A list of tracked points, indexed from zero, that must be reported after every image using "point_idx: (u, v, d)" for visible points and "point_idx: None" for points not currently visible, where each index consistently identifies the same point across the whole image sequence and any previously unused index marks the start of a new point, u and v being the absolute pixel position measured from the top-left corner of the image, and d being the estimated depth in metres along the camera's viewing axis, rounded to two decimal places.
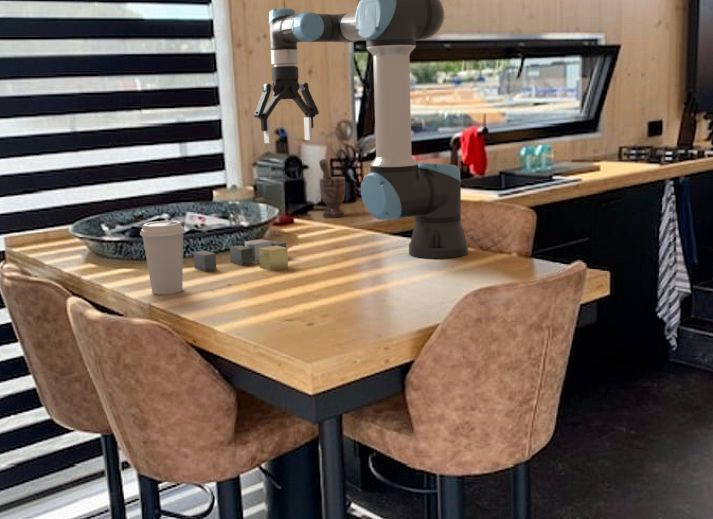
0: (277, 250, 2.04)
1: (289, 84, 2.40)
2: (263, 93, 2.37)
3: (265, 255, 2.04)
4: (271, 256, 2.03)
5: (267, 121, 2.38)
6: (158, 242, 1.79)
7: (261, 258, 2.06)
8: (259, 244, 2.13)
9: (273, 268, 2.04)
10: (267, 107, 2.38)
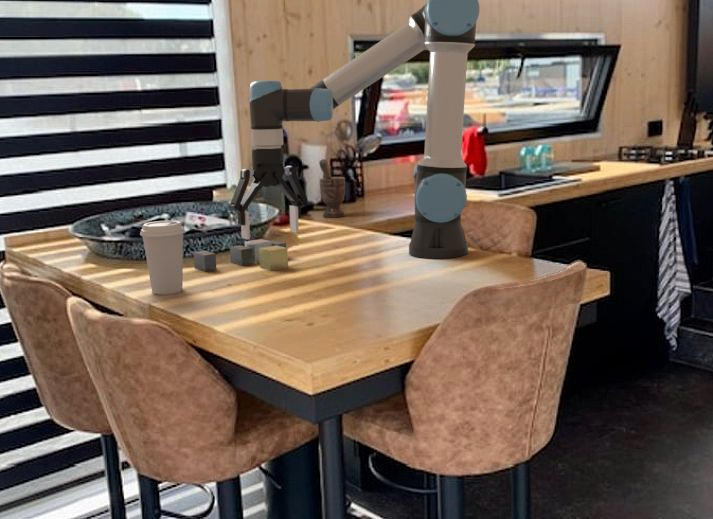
0: (277, 250, 2.04)
1: (272, 169, 2.02)
2: (241, 180, 1.99)
3: (265, 255, 2.04)
4: (271, 256, 2.03)
5: (245, 213, 1.99)
6: (159, 242, 1.79)
7: (261, 258, 2.06)
8: (259, 244, 2.13)
9: (273, 268, 2.04)
10: (245, 196, 2.00)
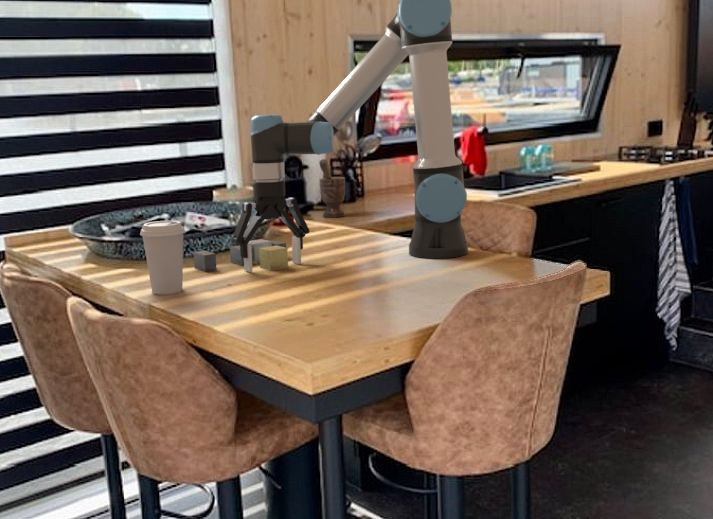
0: (277, 250, 2.04)
1: (274, 202, 2.03)
2: (243, 214, 2.00)
3: (265, 255, 2.04)
4: (271, 256, 2.03)
5: (247, 246, 2.01)
6: (159, 242, 1.79)
7: (261, 258, 2.06)
8: (259, 244, 2.13)
9: (273, 268, 2.04)
10: (248, 229, 2.01)
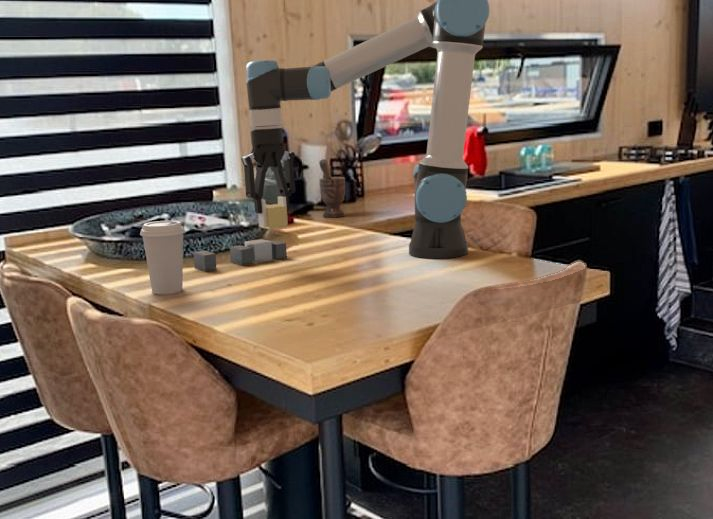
0: (276, 208, 2.02)
1: (273, 145, 2.01)
2: (246, 168, 1.99)
3: None
4: (270, 214, 2.01)
5: (262, 202, 2.01)
6: (159, 242, 1.79)
7: None
8: (259, 244, 2.13)
9: (272, 226, 2.02)
10: (256, 184, 2.01)
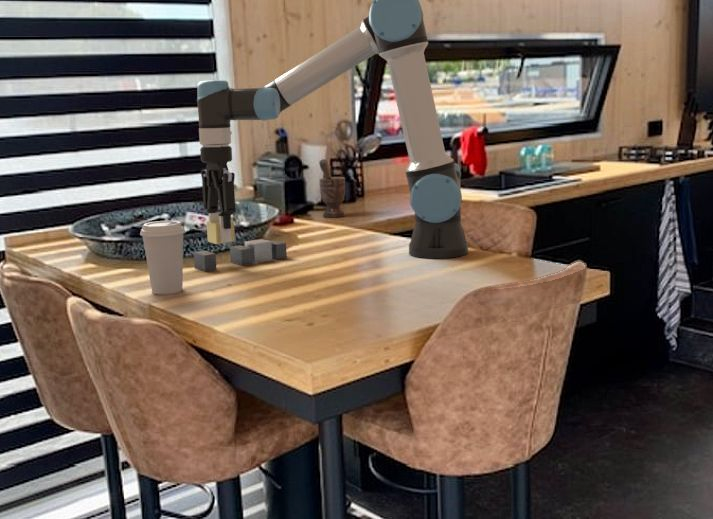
0: (210, 223, 2.08)
1: (214, 163, 2.04)
2: None
3: None
4: (207, 228, 2.09)
5: None
6: (159, 242, 1.79)
7: None
8: (259, 244, 2.13)
9: (209, 239, 2.10)
10: None
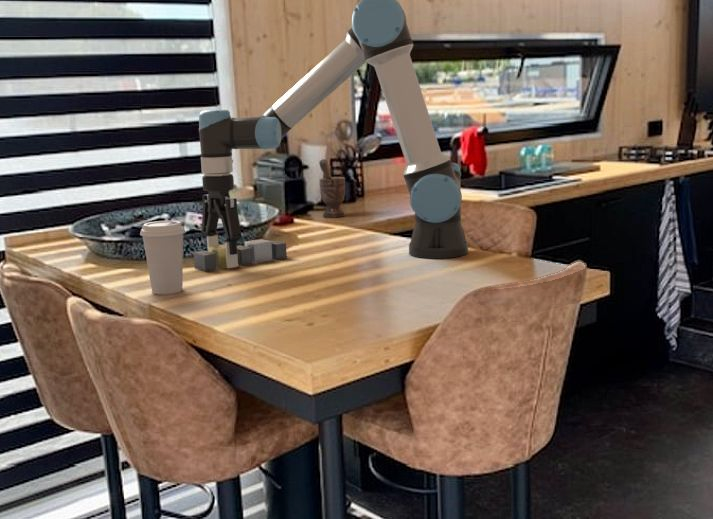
0: (212, 248, 2.09)
1: (216, 193, 2.06)
2: None
3: None
4: None
5: None
6: (159, 242, 1.79)
7: None
8: (259, 244, 2.13)
9: None
10: None
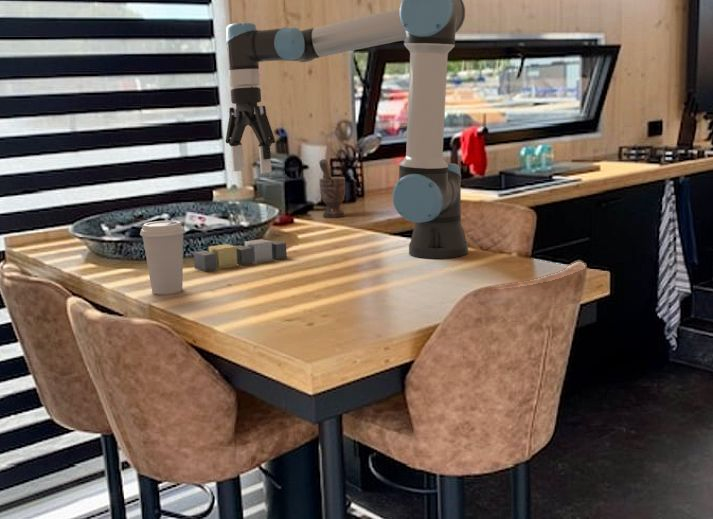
0: (213, 248, 2.09)
1: (244, 108, 2.13)
2: None
3: None
4: None
5: None
6: (159, 242, 1.79)
7: None
8: (259, 244, 2.13)
9: None
10: None
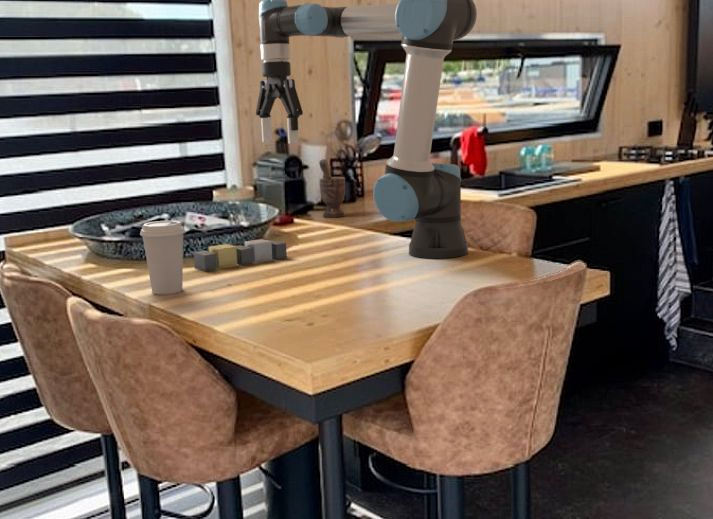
0: (212, 248, 2.09)
1: (274, 81, 2.23)
2: None
3: None
4: None
5: None
6: (159, 242, 1.79)
7: None
8: (259, 244, 2.13)
9: None
10: None
